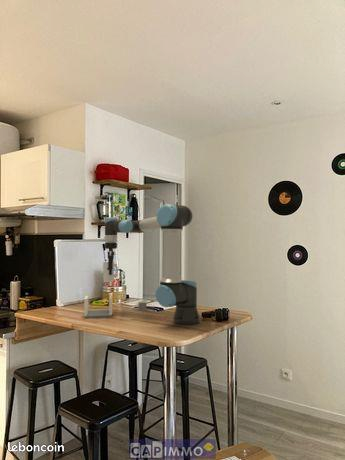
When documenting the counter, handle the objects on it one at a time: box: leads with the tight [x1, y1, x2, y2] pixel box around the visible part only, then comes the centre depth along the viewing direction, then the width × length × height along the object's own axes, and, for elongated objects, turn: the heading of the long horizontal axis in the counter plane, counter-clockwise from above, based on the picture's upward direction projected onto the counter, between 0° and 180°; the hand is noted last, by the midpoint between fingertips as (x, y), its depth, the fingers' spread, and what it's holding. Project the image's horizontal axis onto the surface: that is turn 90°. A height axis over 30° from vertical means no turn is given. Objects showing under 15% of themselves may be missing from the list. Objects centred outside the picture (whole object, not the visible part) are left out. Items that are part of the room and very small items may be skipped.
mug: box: [102, 261, 119, 283], centre depth 222 cm, size 10×7×12 cm, turn 131°
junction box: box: [137, 300, 147, 312], centre depth 237 cm, size 6×5×5 cm
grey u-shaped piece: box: [83, 294, 113, 320], centre depth 218 cm, size 14×16×12 cm
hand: (110, 279), depth 221 cm, fingers closed on mug, 7 cm apart
